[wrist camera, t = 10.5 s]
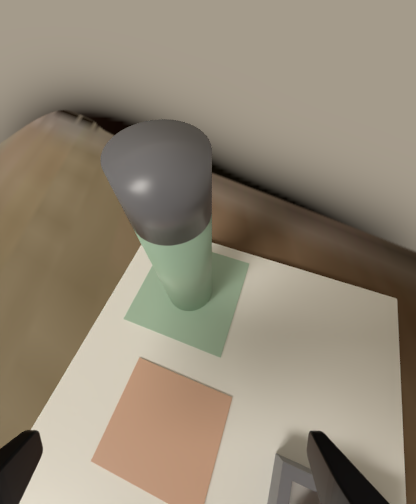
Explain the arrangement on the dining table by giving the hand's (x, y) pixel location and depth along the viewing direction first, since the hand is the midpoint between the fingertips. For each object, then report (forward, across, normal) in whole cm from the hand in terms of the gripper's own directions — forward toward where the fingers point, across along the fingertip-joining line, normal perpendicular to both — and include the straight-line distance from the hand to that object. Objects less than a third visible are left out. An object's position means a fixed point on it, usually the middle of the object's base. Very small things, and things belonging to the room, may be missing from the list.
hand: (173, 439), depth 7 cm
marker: (+12, 0, 0) cm, 12 cm away
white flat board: (+8, -2, +5) cm, 10 cm away
